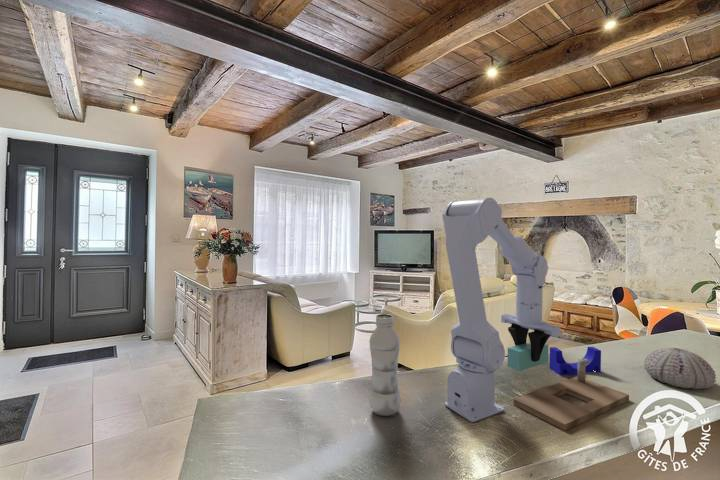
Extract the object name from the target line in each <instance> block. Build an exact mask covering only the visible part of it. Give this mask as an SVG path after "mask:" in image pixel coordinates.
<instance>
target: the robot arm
mask: <svg viewBox="0 0 720 480" xmlns="http://www.w3.org/2000/svg"><path fill="white" fill-rule="evenodd" d="M502 216H503V215H502V207H501V206H500V204H498V202H497V201H496V200H495V199H494V198H493V197H485V198H477V199H467V200H452V201H450V202H449V203H447V206H446V207H445V210H444V212H443V213H442V215H441V217H442V221H443V228H444V234H445V247H446V252H447V260H448V264H449V270H450V275H451V276H450V277H451V282H452V287H453V292H454V298H455V303H456V304H455V305H456V309H457V315H458V320H459V322H457V324H454V326H453V327H452V329H451V330H450V334H451V341H450V351H451V354H452V355H453V357H455V359H456V361H455V363H457V365H458V366H457V367H456V368H455V369H454V370H451V371H450V372H449V374H448V376H447V397H446V398H447V401H445V402H444V405H445V406H446V407H447V408H449V409H450V410H452V411H454V412H455V413H457V414H458V415H460V416H461V417H463V418H464V419H466V420H468V421H469V422H471V423H475V422H477V421H480V420H483V419H486V418H488V417H491V416H494V415H495V414H498V413H501V412H504V411H505V407H503V406H501V405H499V404H497V403H496V401H495V400H496V399H495V398H496V393H495V392H496V391H495V390H496V389H495V387H496V371H497V370H499V369H500V367H502V365H503V363H504V360H505V356H506V350H505V346H504V343H503V342H502V341H501V339H500V333H499V331H498V330H497V329H496V328H495V327H494V326H493V325H492V324H491V323H490V322H489V321H488V320H487V314H486V308H485V307H486V306H485V302H484V295H483V290H482V284H481V278H480V277H481V276H480V273H479V272H480V271H479V265H478V259H477V254H476V248H477V246H478V245H479V244H481V243H483V242H484V241H486V239H487V238H488V237H491V239H492V240H494V241H495V242H496V243H497V244H498V245H499V252H500V254H501V255H502V256H503V257H504V258H505V259H506V261H508V262H509V265H510V268H511V271H512V275H514V276H516V292H515V294H516V297H515V298H516V299H515V301H516V302H515V304H516V305H515V308H516V309H515V313H516V314H515V315H513V314H506V313H505V314H501V316H500V317H501V318H500V319H501V321H500V322H501V323H502V324H506V323H507V324H510V326H508V327H507V331H508V332H509V334H510V336H511V337H512V340H513V343H514V346H517V345H521V344H525V343H527V339H529V343H530V344H531V359H532V361H533V362H536V361H539V360H540V356H541V353H542V350H543V347H544V345H545V344H547V342H548V340H549V339H550V337H554V338H558V337H560V336H561V332H562V331H561V330H562V328H561V327H560V326H556V325H553V324H550V323H548V322H545V321H543V293H544V291H543V286H545V284H546V279H547V278H546V276H547V274H548V271H549V265H548V261H547V259H546V257H545V256H543V255H542V254H536V252H535V251H534V250H533V249H532V248H531V246H530V245H529V244H528V243H527V242H526V240H524V238H523V236H522V235H521V236H520V235H514V234H513V233H512V231H511V230H510V228H509V227H508V226H507V225H506V223H505V222H504V220H503V219H502ZM530 330H532V331H531V332H529V331H530Z"/></svg>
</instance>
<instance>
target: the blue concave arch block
mask: <svg viewBox="0 0 720 480" xmlns="http://www.w3.org/2000/svg"><path fill="white" fill-rule="evenodd" d="M584 359H588V360H589V364H586V365H585V372H591V373H601V371H602V350H601V349H598V348H596V347H595V346H587V348H586V353H585V355H584V357H582V358H581V360H584ZM549 369H550V370H551V371H552V372H554V373H556V374H557V375H558V374H559V376H577V371H578V361H577V362H573V363H570V362H566V360H565V358H564V355H563V351H562V350H561V349H559V348H557V347H556V346H555V347H553V346H552V347H549ZM593 370H594V371H596V372H594V371H593Z"/></svg>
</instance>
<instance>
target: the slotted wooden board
mask: <svg viewBox="0 0 720 480" xmlns="http://www.w3.org/2000/svg"><path fill="white" fill-rule="evenodd" d="M577 362H578V371H577V375H576V376H574V377H572V378H568V379H566V380H564V381H561V382H558V383H555V384H551V385H550V386H547V387H543V388H540V389H538V390H535V391H533V392H530V393H527V394H524V395H521V396H518V397H516V398H513V406H516V407H518V408H520V409H522V410H523V411H525V412H527V413H529V414H531V415H533V416H535V417H537V418H540V419H541V420H543V421H545V422H547V423H549V424H551V425H552V426H555V427H557V428H558V429H561V430H563V431H567V430H570V429H572V428H574V427H576V426H578V425H581V424H583V423H585V422H586V421H588V420H590V419H592V418H595V417H596V416H599V415H601V414H603V413H605V412H607V411H610V410H611V409H614V408H616V407H618V406H619V405H621V404H624V403H626V402H629V401H630V394H627V393H624V392H623V391H619V390H616V389H613V388H611V387H609V386H605V385H603V384H599V383H597V382H594V381H591V380H588V379H586V373H585V365H586V364H589V360H588V359H584V360H582V358H580V359H577ZM564 395H569V396H571V397H574V398H576V399H579V400H581V401H584V402H586V403H583V404H581V405H575V404H573V403H571V402H569V401H567V400H565V399H562V398H560V397H561V396H564Z"/></svg>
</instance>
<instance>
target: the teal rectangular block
mask: <svg viewBox="0 0 720 480" xmlns="http://www.w3.org/2000/svg"><path fill="white" fill-rule="evenodd" d="M547 363H549V343H545V345H544V347H543V350H542V353H541V356H540V360H539V361H536V362H533V361H532V359H531V344H530V342H526V343H525V344H521V345H517V346H515V345H514V346H509V347H507V367H508V368H512V369H513V370H516V371H519V372H521V371H523V370H527V369H530V368H534V367H537V366H540V365H544V364H547Z"/></svg>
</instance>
